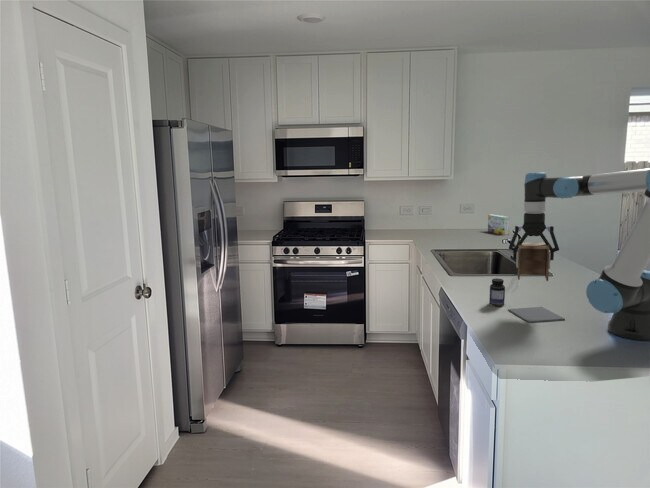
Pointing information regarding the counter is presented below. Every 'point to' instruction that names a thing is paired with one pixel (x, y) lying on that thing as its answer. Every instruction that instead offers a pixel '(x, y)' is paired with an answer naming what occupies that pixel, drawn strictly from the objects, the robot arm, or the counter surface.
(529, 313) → the mat
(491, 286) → the pill bottle
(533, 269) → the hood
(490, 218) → the snack box
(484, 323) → the counter surface
